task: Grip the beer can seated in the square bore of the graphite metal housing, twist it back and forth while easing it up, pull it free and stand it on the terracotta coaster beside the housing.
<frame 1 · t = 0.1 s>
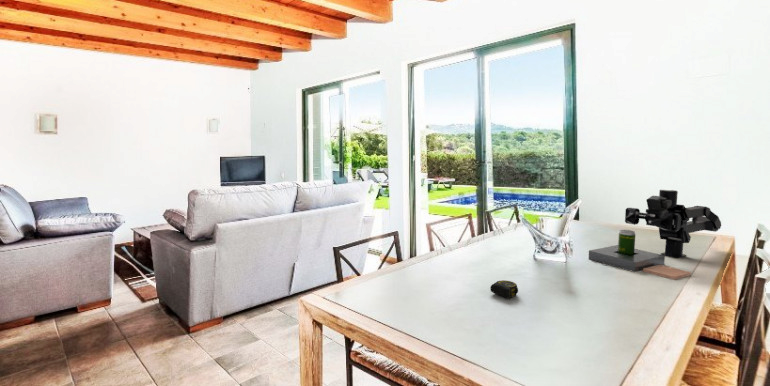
hand: (638, 220, 145), 17 cm above the table, fingers open, 9 cm apart
housing: (625, 261, 150), on the table
coaster: (666, 273, 136), on the table
tape measure: (504, 296, 117), on the table
beer can: (625, 262, 150), resting in housing
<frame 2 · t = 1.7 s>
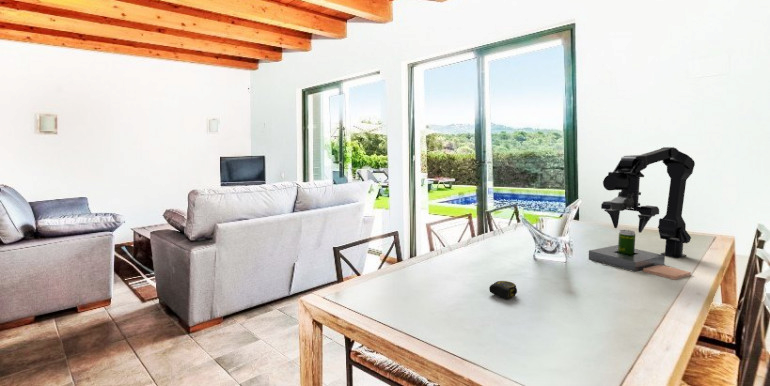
hand: (627, 230, 149), 12 cm above the table, fingers open, 9 cm apart
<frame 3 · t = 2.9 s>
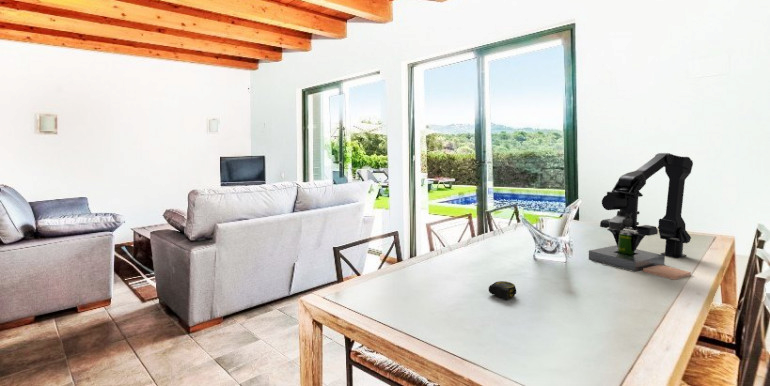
hand: (626, 249, 150), 5 cm above the table, fingers closed on beer can, 5 cm apart
beer can: (625, 262, 150), resting in housing, touching gripper
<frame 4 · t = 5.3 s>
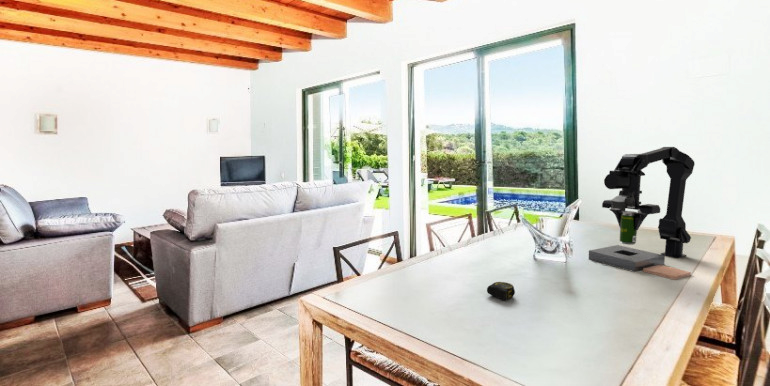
hand: (628, 229, 148), 13 cm above the table, fingers closed on beer can, 5 cm apart
beer can: (627, 243, 149), point 7 cm above the table, touching gripper
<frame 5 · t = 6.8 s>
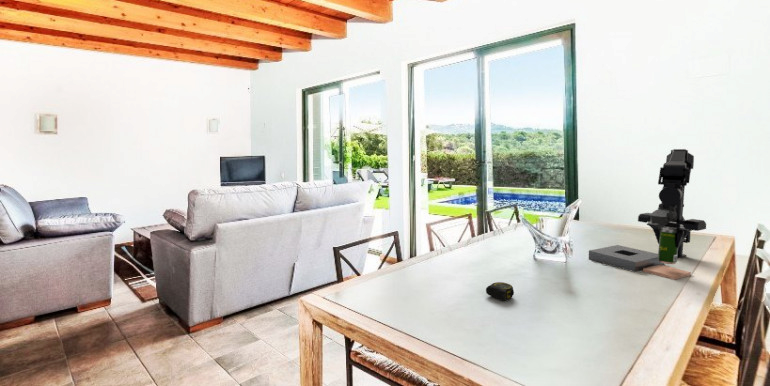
hand: (668, 245, 135), 10 cm above the table, fingers closed on beer can, 5 cm apart
beer can: (667, 262, 136), point 4 cm above the table, touching gripper
when the fingers open (7 cm above the table, at t = 8.0 s): beer can stays where it is, resting on coaster.
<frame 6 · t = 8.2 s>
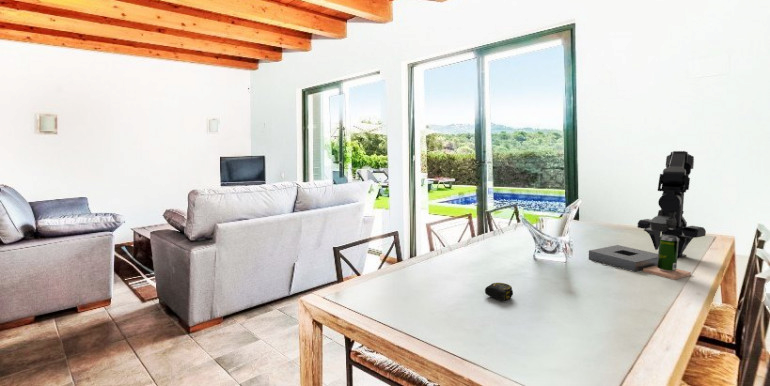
hand: (668, 252, 136), 7 cm above the table, fingers open, 7 cm apart
beer can: (666, 270, 136), point 1 cm above the table, touching coaster
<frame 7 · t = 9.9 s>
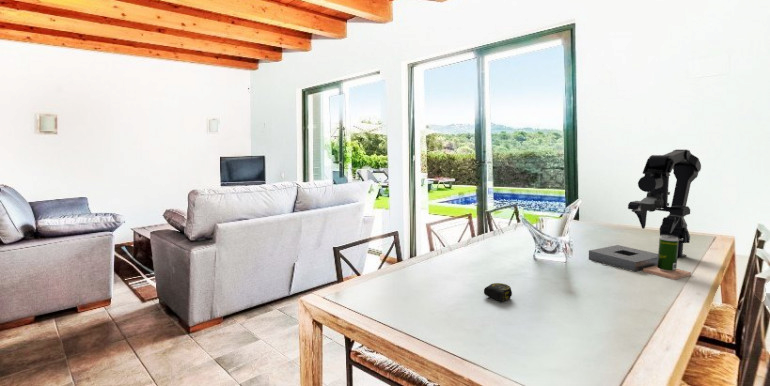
hand: (656, 230, 146), 13 cm above the table, fingers open, 9 cm apart
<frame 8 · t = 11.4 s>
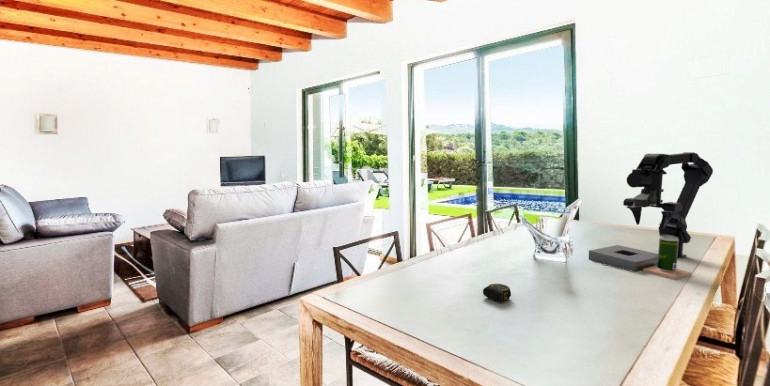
hand: (649, 226, 152), 13 cm above the table, fingers open, 9 cm apart
at the end: beer can inside the target area on the coaster (0.0 cm from its centre), point 0.8 cm above the coaster's base; beer can tilted 0°; the gripper is holding nothing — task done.
